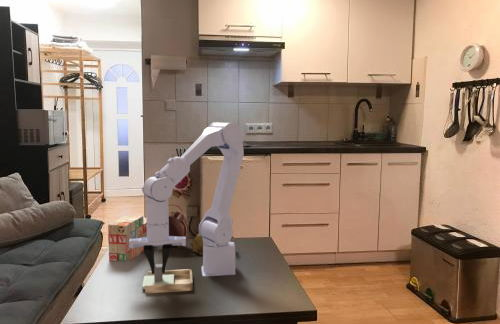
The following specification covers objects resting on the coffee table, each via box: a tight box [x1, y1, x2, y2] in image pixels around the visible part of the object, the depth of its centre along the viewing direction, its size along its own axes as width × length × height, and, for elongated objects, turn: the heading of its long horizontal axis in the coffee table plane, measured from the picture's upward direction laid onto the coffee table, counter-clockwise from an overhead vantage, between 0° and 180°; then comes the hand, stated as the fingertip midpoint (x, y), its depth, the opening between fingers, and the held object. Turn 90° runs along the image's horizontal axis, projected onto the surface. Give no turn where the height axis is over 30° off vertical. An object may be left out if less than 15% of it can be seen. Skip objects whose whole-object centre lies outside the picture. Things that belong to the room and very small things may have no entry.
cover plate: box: [141, 263, 174, 290], centre depth 107 cm, size 8×7×5 cm
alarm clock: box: [168, 204, 190, 248], centre depth 141 cm, size 11×5×15 cm, turn 77°
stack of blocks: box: [107, 214, 147, 263], centre depth 136 cm, size 21×6×12 cm, turn 169°
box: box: [144, 268, 194, 294], centre depth 108 cm, size 12×10×2 cm
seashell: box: [190, 232, 235, 256], centre depth 137 cm, size 11×14×10 cm
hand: (158, 272), depth 107 cm, fingers closed on cover plate
